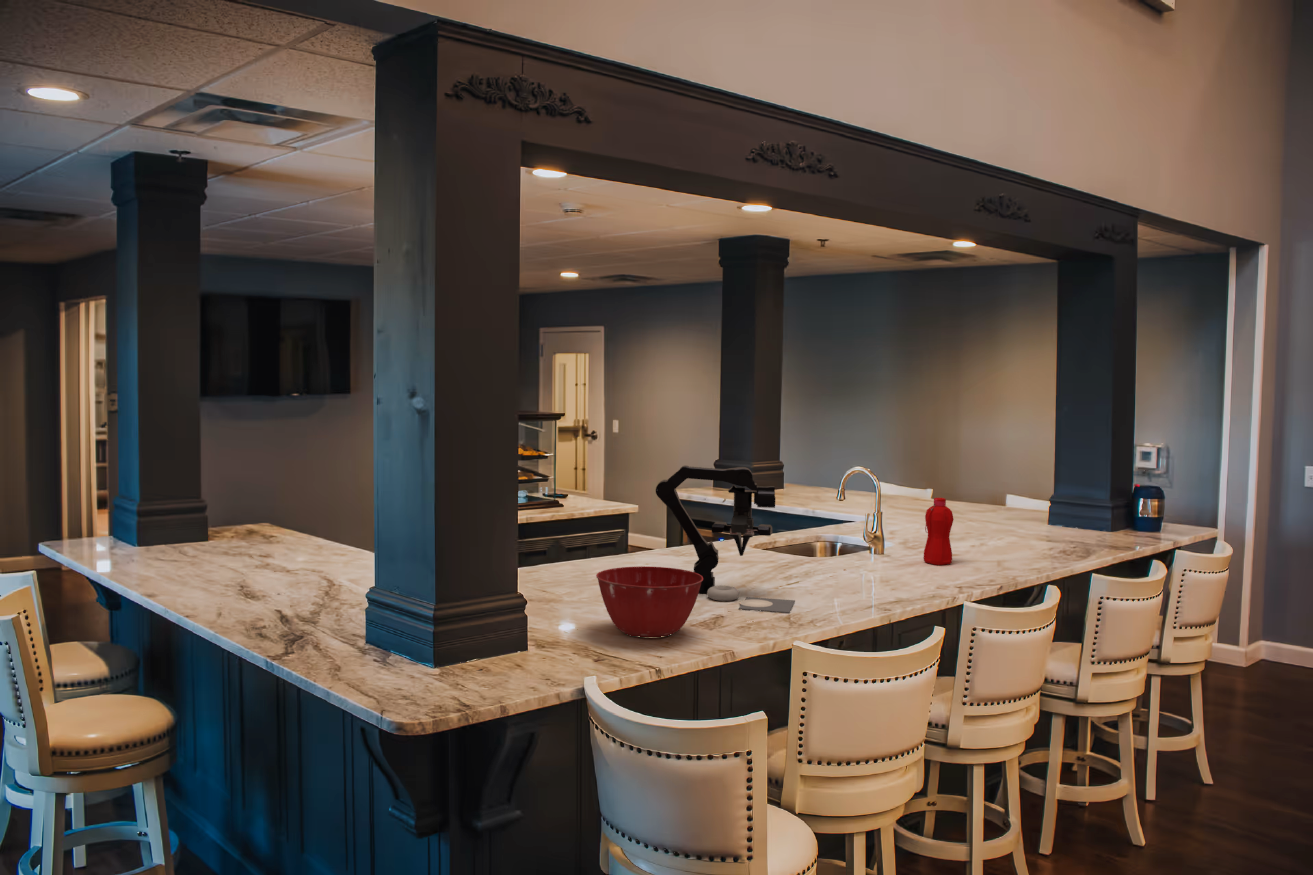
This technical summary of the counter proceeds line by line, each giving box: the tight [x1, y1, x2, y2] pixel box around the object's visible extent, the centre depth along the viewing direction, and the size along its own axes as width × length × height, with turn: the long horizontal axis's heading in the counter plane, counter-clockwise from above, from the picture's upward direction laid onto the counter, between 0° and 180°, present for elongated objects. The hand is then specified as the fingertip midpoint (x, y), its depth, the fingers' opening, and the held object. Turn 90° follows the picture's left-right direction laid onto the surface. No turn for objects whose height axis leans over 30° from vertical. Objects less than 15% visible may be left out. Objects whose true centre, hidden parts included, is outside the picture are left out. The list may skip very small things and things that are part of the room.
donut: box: [706, 585, 740, 602], centre depth 300 cm, size 10×4×10 cm
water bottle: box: [922, 497, 954, 566], centre depth 366 cm, size 9×11×25 cm
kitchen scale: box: [738, 596, 796, 614], centre depth 292 cm, size 16×16×1 cm
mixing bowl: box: [595, 566, 703, 637], centre depth 258 cm, size 28×28×16 cm
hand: (741, 555), depth 308 cm, fingers closed
